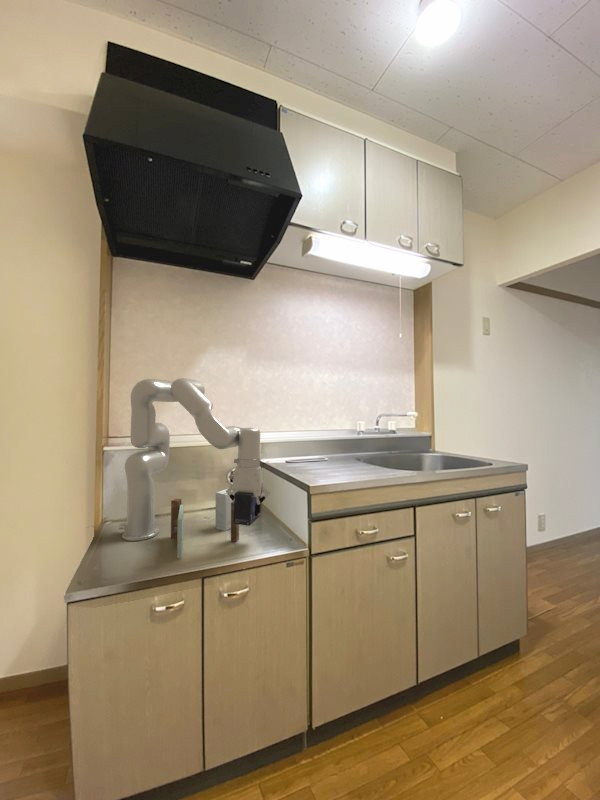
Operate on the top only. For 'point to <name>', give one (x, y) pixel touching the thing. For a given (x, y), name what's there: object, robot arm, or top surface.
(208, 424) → the robot arm
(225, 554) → the top surface
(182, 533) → the door
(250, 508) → the small box
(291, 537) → the top surface
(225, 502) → the skincare box
